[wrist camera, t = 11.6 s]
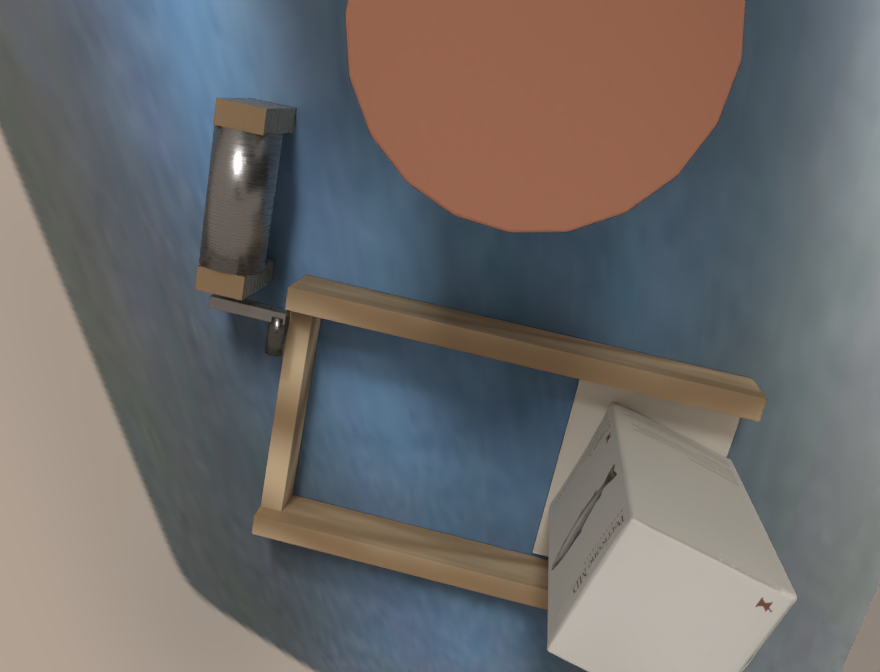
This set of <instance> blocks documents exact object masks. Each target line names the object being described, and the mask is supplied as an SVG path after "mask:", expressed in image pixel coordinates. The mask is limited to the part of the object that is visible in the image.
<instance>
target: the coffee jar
mask: <svg viewBox="0 0 880 672" xmlns="http://www.w3.org/2000/svg"><path fill="white" fill-rule="evenodd" d="M745 1H746V0H348V3H347V8H346V12H345V18H346V34H347V50H348V66H349V78H350V81H351V83H352V86H353V89H354V91H355V94H356V97H357V100H358V102H359V105H360V108H361V110H362V113H363V116H364V118H365V121H366V124H367V127H368V129H369V132H370V135H371V136H372V137H373V139H374V140H375V141H376V143H377V144H378V145H379V147H380V148H381V149H382V151H383V152H384V153H385V154H386V156H387V157H388V158H389V160H390V161H391V162H392V164H393V165H394V166H395V168H396V169H397V170H398V172H399V173H400V174H401V175H402V177H403V178H404V179H405V181H406V182H407V183H408V184H410V185H411V186H413V187H414V188H416V189H417V190H418V191H420V192H421V193H423V194H424V195H426V196H427V197H428V198H430V199H431V200H433V201H434V202H436V203H437V204H438V205H440V206H441V207H443V208H444V209H446V210H447V211H448V212H450V213H451V214H453V215H454V216H457V217H460V218H464V219H467V220H470V221H473V222H477V223H480V224H483V225H486V226H490V227H493V228H496V229H499V230H503V231H506V232H509V233H521V232H569V231H572V230H575V229H578V228H581V227H584V226H587V225H590V224H593V223H596V222H599V221H602V220H605V219H608V218H611V217H614V216H617V215H620V214H623V213H626V212H628V211H629V210H630V209H632V208H633V207H635V206H636V205H637V204H639V203H640V202H642V201H643V200H644V199H646V198H647V197H649V196H650V195H651V194H653V193H654V192H656V191H657V190H658V189H660V188H661V187H663V186H664V185H665V184H667V183H668V182H670V181H671V180H672V179H674V178H675V177H677V176H678V174H679V173H680V172H681V171H682V169H683V168H684V167H685V165H686V164H687V163H688V161H689V160H690V159H691V158H692V156H693V155H694V154H695V152H696V151H697V150H698V148H699V147H700V146H701V145H702V143H703V142H704V141H705V139H706V138H707V137H708V135H709V134H710V133H711V132H712V130H713V129H714V128H715V126H716V125H717V124H718V121H719V118H720V116H721V113H722V111H723V108H724V105H725V103H726V100H727V98H728V95H729V92H730V90H731V87H732V84H733V82H734V79H735V77H736V74H737V71H738V69H739V66H740V63H741V61H742V47H743V32H744V16H745Z"/></svg>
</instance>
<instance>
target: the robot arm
mask: <svg viewBox="0 0 880 672" xmlns="http://www.w3.org/2000/svg"><path fill="white" fill-rule="evenodd" d="M841 672H880V583H879V585H878V587H877V590H876V592H875V594H874V597H873V599H872V601H871V604H870V606H869V608H868V611H867V613H866V615H865V618H864V620H863V622H862V624H861V627H860V629H859V631H858V634H857V636H856V638H855V641H854V643H853V645H852V648H851V650H850V652H849V654H848V657H847V659H846V661H845V664H844V666H843V668H842V671H841Z"/></svg>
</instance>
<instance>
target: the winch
mask: <svg viewBox="0 0 880 672" xmlns="http://www.w3.org/2000/svg"><path fill="white" fill-rule="evenodd" d="M295 114H296V108H293V107H288V106H284V105H279V104H274V103H270V102H265V101H261V100H256V99H252V98H216V106H215V115H214V133H213V142H212V151H211V160H210V169H209V177H208V186H207V195H206V204H205V213H204V222H203V231H202V240H201V249H200V258H199V263H200V264H201V265H199V266H198V268H197V277H196V286H195V290H200V291H204V292H208V293H212V294H213V295H211V296H210V301H209V308H213V309H217V310H222V311H226V312H230V313H234V314H238V315H243V316H247V317H251V318H255V319H259V320H263V321H268V322H269V326H268V333H267V340H266V347H265V353H266V354H268V355H272V356H283V355H284V354H285V347H286V340H287V334H288V327H289V321H290V313H291V311H289V310H285V309H283V308H279V307H275V306H271V305H266V304H262V303H258V302H254V301H250V300H245V298H246V297H248V296H249V295H251V294H253V293H254V292H256V291H257V290H259V289H261V288H262V287H264V286H265V285H267V284H268V283H270V282H272V277H273V270H274V263H275V260H273V259H268V258H266V256H267V249H268V242H269V234H270V227H271V220H272V213H273V205H274V198H275V191H276V183H277V176H278V169H279V162H280V154H281V147H282V140H283V135H282V134H281V133H290V132H293V128H294V121H295Z"/></svg>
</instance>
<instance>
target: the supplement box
mask: <svg viewBox="0 0 880 672" xmlns="http://www.w3.org/2000/svg"><path fill="white" fill-rule="evenodd" d="M796 600H797V595H796V593H795V591H794V589H793V587H792V585H791V583H790V581H789V579H788V577H787V575H786V573H785V570H784V568H783V566H782V564H781V562H780V560H779V558H778V556H777V554H776V552H775V550H774V548H773V546H772V543H771V541H770V539H769V537H768V535H767V533H766V531H765V529H764V527H763V525H762V523H761V521H760V518H759V516H758V514H757V512H756V510H755V508H754V506H753V504H752V502H751V500H750V498H749V496H748V494H747V492H746V489H745V487H744V485H743V483H742V481H741V479H740V477H739V475H738V473H737V471H736V469H735V467H734V465H733V462H732V460H730V459H728V458H726V457H724V456H722V455H720V454H718V453H716V452H714V451H713V450H711V449H709V448H707V447H705V446H703V445H700V444H699V443H697V442H694V441H693V440H691V439H689V438H687V437H685V436H683V435H681V434H679V433H677V432H675V431H673V430H671V429H669V428H667V427H665V426H663V425H661V424H659V423H657V422H655V421H653V420H651V419H649V418H647V417H645V416H643V415H641V414H639V413H637V412H635V411H633V410H631V409H629V408H627V407H625V406H623V405H621V404H619V403H617V402H612V403H611V404H610V406H609V408H608V410H607V412H606V414H605V415H604V417H603V419H602V421H601V423H600V425H599V426H598V428H597V430H596V432H595V434H594V435H593V437H592V439H591V441H590V442H589V444H588V446H587V447H586V449H585V451H584V452H583V454H582V456H581V457H580V459H579V460H578V462H577V464H576V465H575V467H574V468H573V470H572V472H571V473H570V475H569V476H568V478H567V480H566V481H565V483H564V484H563V486H562V487H561V489H560V490H559V492H558V493H557V495H556V497H555V498H554V499H553V501H552V502H551V504H550V521H549V563H548V624H547V629H548V634H547V650H548V652H550V653H552V654H554V655H556V656H558V657H560V658H562V659H564V660H566V661H568V662H570V663H572V664H574V665H576V666H578V667H580V668H582V669H584V670H586V671H588V672H742V671H743V670H744V669H745V667H746V666H747V665H748V664H749V663H750V661H751V660H752V659H753V657H754V656H755V654H756V652H757V651H758V650H759V648H760V647H761V646H762V645H763V643H764V642H765V641H766V639H767V638H768V637H769V635H770V634H771V633H772V631H773V630H774V629H775V627H776V626H777V625H778V623H779V622H780V621H781V620H782V618H783V617H784V616H785V614H786V613H787V612H788V610H789V609H790V608H791V607H792V606H793V605H794V603H795V602H796Z"/></svg>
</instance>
